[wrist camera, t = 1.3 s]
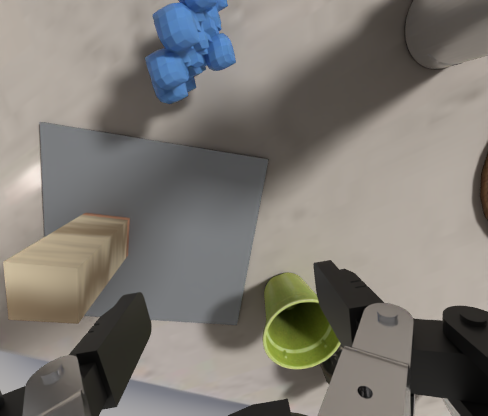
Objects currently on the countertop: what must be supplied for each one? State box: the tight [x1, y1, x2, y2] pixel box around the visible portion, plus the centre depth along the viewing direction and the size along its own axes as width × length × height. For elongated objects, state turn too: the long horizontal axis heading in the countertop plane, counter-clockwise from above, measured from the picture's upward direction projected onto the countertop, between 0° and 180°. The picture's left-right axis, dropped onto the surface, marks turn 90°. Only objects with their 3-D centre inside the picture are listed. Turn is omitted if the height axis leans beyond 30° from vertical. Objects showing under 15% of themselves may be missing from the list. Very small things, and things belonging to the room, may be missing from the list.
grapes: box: [145, 0, 236, 104], centre depth 21 cm, size 12×7×12 cm, turn 154°
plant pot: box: [263, 273, 340, 369], centre depth 32 cm, size 9×9×9 cm
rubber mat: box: [40, 122, 268, 325], centre depth 32 cm, size 24×25×1 cm
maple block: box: [3, 213, 130, 324], centre depth 25 cm, size 5×5×12 cm
